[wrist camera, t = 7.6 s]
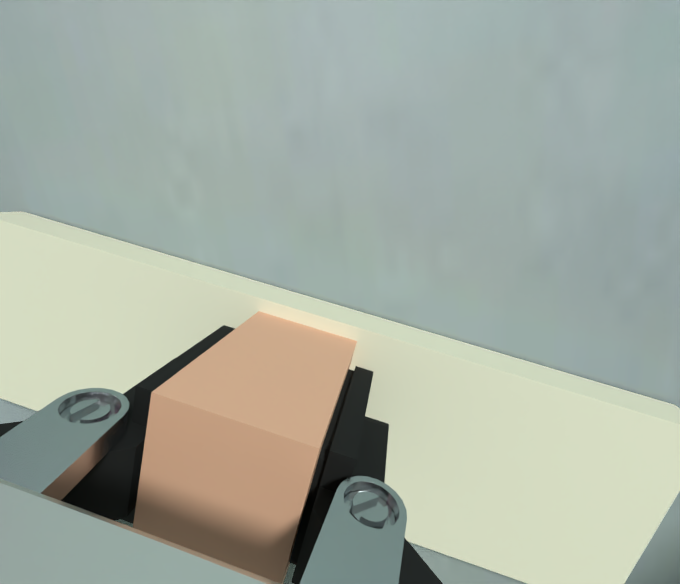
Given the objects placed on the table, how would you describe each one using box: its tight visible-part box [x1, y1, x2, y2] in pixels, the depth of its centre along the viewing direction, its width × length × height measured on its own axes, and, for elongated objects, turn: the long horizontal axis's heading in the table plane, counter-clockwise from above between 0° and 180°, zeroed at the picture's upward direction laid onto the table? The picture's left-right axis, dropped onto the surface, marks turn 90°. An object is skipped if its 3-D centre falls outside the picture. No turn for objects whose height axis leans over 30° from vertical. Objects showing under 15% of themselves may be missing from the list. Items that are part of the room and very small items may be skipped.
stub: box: [0, 212, 680, 584], centre depth 10 cm, size 22×6×6 cm, turn 75°
